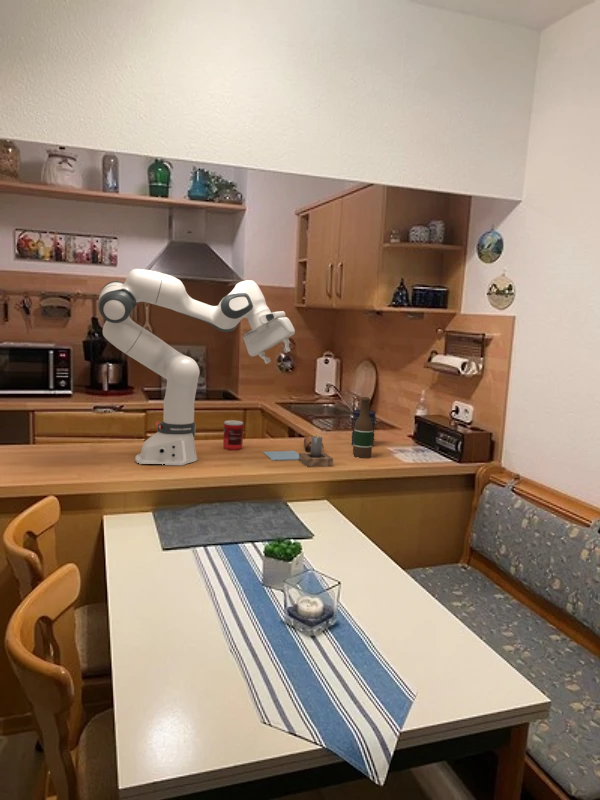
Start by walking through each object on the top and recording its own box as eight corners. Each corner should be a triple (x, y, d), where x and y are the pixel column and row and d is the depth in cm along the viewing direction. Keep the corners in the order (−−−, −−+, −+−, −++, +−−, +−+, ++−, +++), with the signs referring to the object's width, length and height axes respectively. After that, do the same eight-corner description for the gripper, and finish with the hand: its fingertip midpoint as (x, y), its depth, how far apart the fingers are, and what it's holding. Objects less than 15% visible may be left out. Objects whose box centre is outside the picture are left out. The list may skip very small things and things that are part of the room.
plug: (312, 464, 229) (313, 435, 227) (308, 462, 233) (310, 433, 231) (322, 464, 230) (323, 435, 229) (318, 462, 234) (320, 433, 232)
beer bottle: (368, 459, 242) (372, 399, 239) (350, 457, 245) (353, 397, 241) (373, 455, 249) (377, 397, 246) (355, 453, 252) (358, 395, 249)
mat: (271, 460, 232) (271, 459, 232) (263, 452, 245) (263, 451, 244) (304, 459, 236) (304, 458, 236) (294, 452, 249) (294, 450, 248)
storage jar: (377, 447, 266) (379, 413, 264) (357, 447, 262) (359, 413, 260) (367, 442, 275) (369, 409, 273) (347, 442, 272) (349, 409, 269)
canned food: (231, 445, 255) (232, 419, 254) (246, 448, 251) (247, 422, 249) (219, 448, 249) (219, 421, 247) (233, 451, 244) (234, 424, 243)
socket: (307, 467, 225) (307, 459, 225) (298, 460, 235) (299, 452, 234) (332, 466, 228) (333, 458, 228) (323, 459, 238) (323, 452, 237)
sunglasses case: (326, 452, 250) (318, 438, 249) (310, 460, 250) (303, 446, 249) (322, 443, 267) (315, 430, 267) (308, 451, 268) (301, 437, 267)
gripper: (236, 335, 223) (252, 370, 223) (278, 310, 212) (294, 346, 212) (246, 334, 229) (261, 367, 228) (287, 309, 218) (303, 344, 217)
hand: (278, 357), depth 220 cm, fingers open, 8 cm apart
